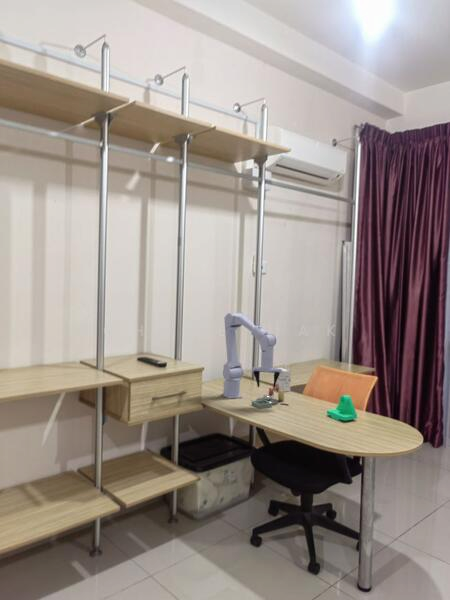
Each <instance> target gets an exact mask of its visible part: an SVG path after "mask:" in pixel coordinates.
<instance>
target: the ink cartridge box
mask: <svg viewBox="0 0 450 600" xmlns="http://www.w3.org/2000/svg"><path fill="white" fill-rule="evenodd" d="M276 368H277V369H282V374H279V377H278V379H277V381H276V385H275V389H277V390H278V391H279V389H284V393H285V392H291V379H292V377H291V376H292V374H291V373H292V371H291V365H290V364H288V363H286V362H283V367H276Z"/></svg>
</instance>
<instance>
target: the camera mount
mask: <svg viewBox="0 0 450 600" xmlns="http://www.w3.org/2000/svg"><path fill="white" fill-rule="evenodd" d="M356 411H357V410H356V409H355V406H354V403H353V400H352V397H351V396H350V395H348V394H346V395H340V396H339V403H338V404H337V407H336V408H332V409H327V410H326V414H327V415H329V416H330V417H331V419H333V420H336V421H351V420H356V419H358V414H357V412H356Z"/></svg>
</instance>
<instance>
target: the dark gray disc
mask: <svg viewBox="0 0 450 600" xmlns="http://www.w3.org/2000/svg"><path fill="white" fill-rule="evenodd" d="M256 400H263V397H258V398H257V399H255V401H256ZM268 402H270V403H272V406H276V405H278V404H279V401H278V399H276V398H274V397H272V398H271V401H268ZM260 404H267V403H266V402H260Z"/></svg>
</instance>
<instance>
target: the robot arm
mask: <svg viewBox="0 0 450 600" xmlns="http://www.w3.org/2000/svg"><path fill="white" fill-rule="evenodd" d="M241 326H243V327H244V328H246V329H247V330H248V331H250V332H251V336H252V337H254V339H256V340H257V341H258V343H259V345H260V350H261V354H260V355H261V357H260V358H261V359H260V361H261V362H260V364H261V365H260V366H256V367H255V366H252V367H251V372H252V373H253V376H254V377H255V382H256V387H257V388H260V373H269V374H271V373H273V387H272V388H274V389H276V381H277V379H278V377H279V374H282V369H277V368H278V367H274V347H275V346H276V344H277V338H276V336H275V335H274V334H273V333H269V332H268V331H266V330H265V329H264V328H263V326H261V325H255V324H254V323H253V322H252V321H251V320H250V319H249V318H248V316H247V315H246V314H245V313H244V312H228V313H227V314H226V315H225V316H224V332H225V334H224V335H225V345H226V359H227V360H226V361H227V362H225V364H223V371H222V376H223V378H224V381H223V389H222V390H223V393H221V395H222V396H223V397H225V398H227V399H229V400H230V399H240V398H243V396H242V395H240V389H241V388H240V386H241V385H240V383H241V382H240V380H242V377H244V370H243V367H242V363H241V362H240V361H239V359H238V346H237V334H236V331H237V330H238V329H239V328H240V327H241Z"/></svg>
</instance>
